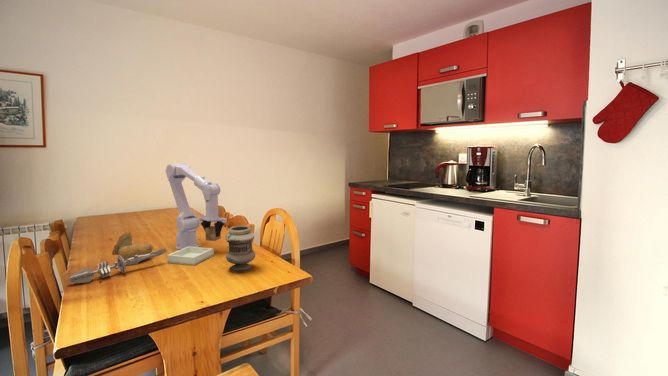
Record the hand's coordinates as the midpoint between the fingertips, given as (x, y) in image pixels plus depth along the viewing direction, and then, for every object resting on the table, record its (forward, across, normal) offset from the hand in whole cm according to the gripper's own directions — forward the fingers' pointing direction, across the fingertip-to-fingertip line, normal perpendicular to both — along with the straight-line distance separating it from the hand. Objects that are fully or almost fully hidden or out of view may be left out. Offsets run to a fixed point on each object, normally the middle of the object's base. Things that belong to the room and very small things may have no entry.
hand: (213, 236), depth 160 cm
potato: (+9, -26, -20) cm, 34 cm away
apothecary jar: (+9, +25, -16) cm, 31 cm away
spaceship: (+9, -20, -33) cm, 40 cm away
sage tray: (+8, -4, -11) cm, 15 cm away
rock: (+9, -45, -10) cm, 47 cm away
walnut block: (+2, 0, 0) cm, 2 cm away
